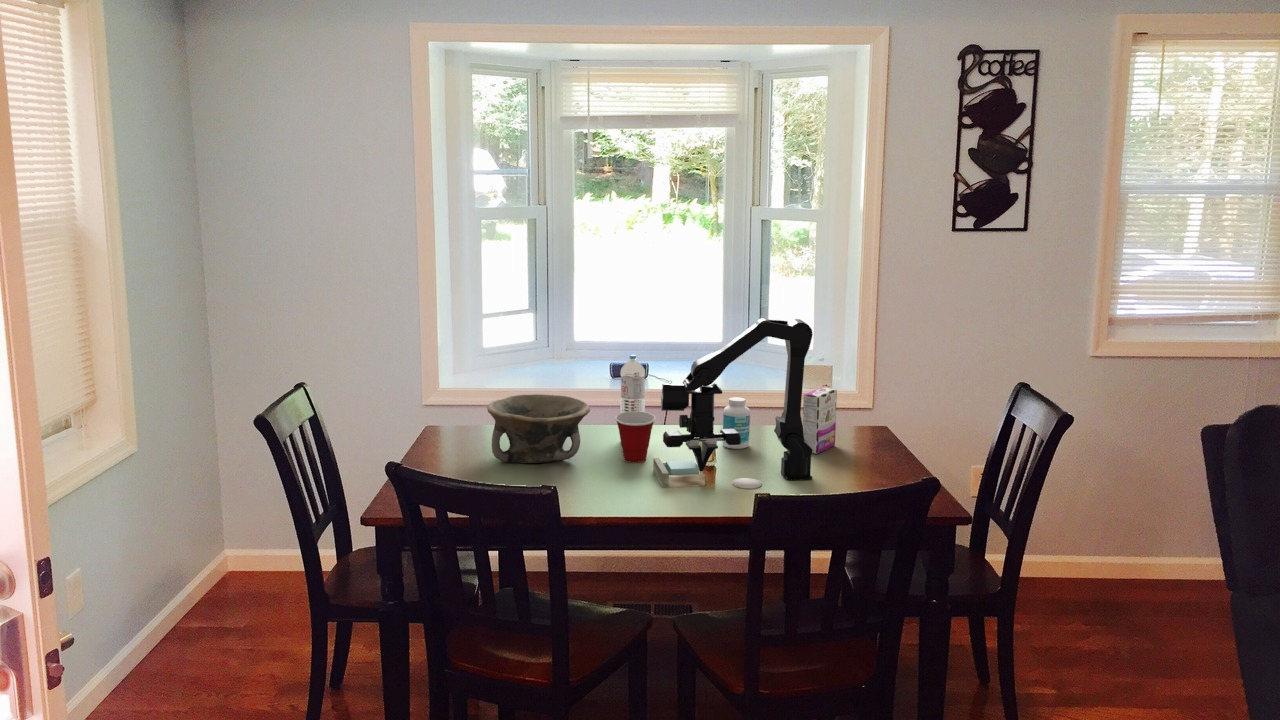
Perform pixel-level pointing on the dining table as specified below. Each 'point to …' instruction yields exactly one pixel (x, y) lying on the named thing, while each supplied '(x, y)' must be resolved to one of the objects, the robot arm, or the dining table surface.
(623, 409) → the water bottle
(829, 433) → the candy bar box
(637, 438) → the plastic cup
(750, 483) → the pad
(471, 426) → the dining table surface
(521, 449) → the bowl
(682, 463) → the block
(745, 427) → the pill bottle
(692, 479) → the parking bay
